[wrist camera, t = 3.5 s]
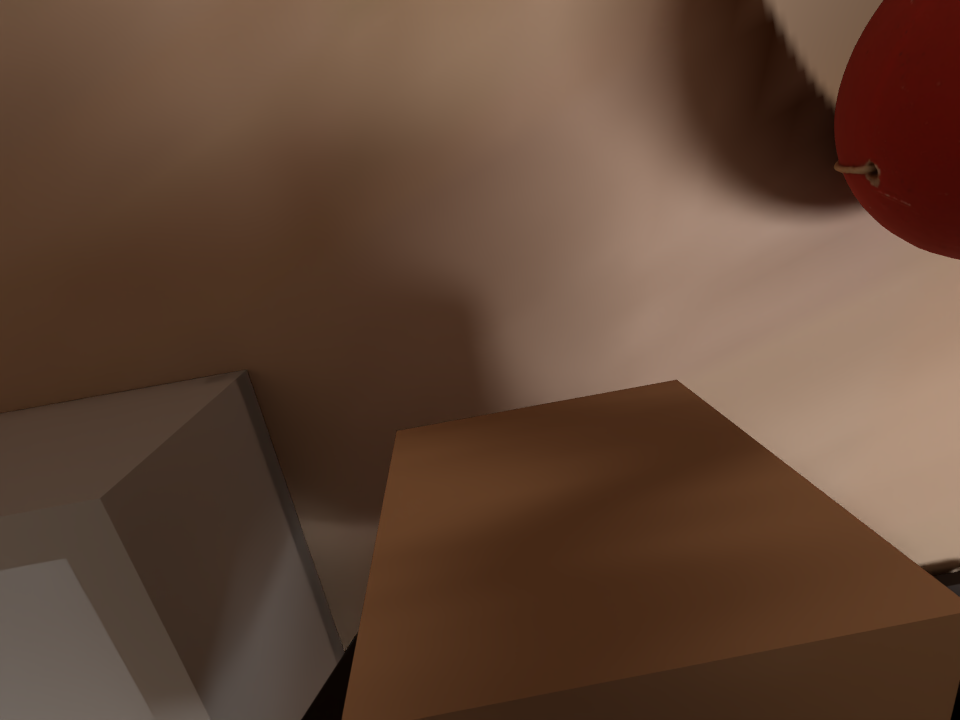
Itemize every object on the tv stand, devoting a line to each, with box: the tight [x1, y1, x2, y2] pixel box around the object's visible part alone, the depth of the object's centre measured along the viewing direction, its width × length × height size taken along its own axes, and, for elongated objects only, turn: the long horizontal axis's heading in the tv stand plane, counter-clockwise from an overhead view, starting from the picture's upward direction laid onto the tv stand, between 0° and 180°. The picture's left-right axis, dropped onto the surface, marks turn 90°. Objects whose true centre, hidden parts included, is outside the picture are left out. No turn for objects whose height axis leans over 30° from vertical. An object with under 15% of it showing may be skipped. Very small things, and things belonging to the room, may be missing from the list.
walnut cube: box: [342, 380, 960, 720], centre depth 7 cm, size 5×5×5 cm
